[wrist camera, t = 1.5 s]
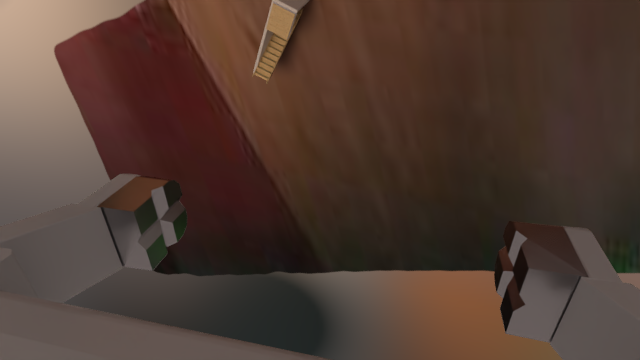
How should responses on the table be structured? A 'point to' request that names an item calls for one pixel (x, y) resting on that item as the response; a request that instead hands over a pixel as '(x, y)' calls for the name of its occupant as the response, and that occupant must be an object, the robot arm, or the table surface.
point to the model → (277, 35)
